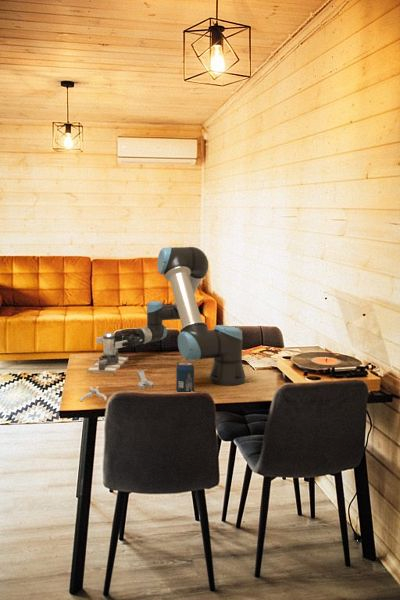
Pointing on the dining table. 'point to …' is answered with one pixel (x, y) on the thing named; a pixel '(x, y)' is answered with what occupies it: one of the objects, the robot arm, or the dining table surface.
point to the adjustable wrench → (143, 380)
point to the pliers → (93, 392)
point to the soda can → (185, 377)
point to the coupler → (108, 345)
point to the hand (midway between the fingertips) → (105, 343)
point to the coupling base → (108, 364)
